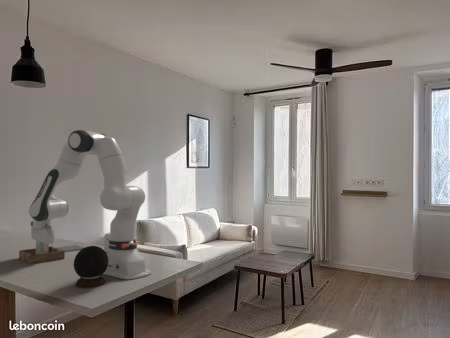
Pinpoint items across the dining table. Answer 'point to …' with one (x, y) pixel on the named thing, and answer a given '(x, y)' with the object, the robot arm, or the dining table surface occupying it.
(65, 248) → the rubber mat
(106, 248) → the small box
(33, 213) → the robot arm
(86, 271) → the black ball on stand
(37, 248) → the green block
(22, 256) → the walnut crate
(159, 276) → the dining table surface
